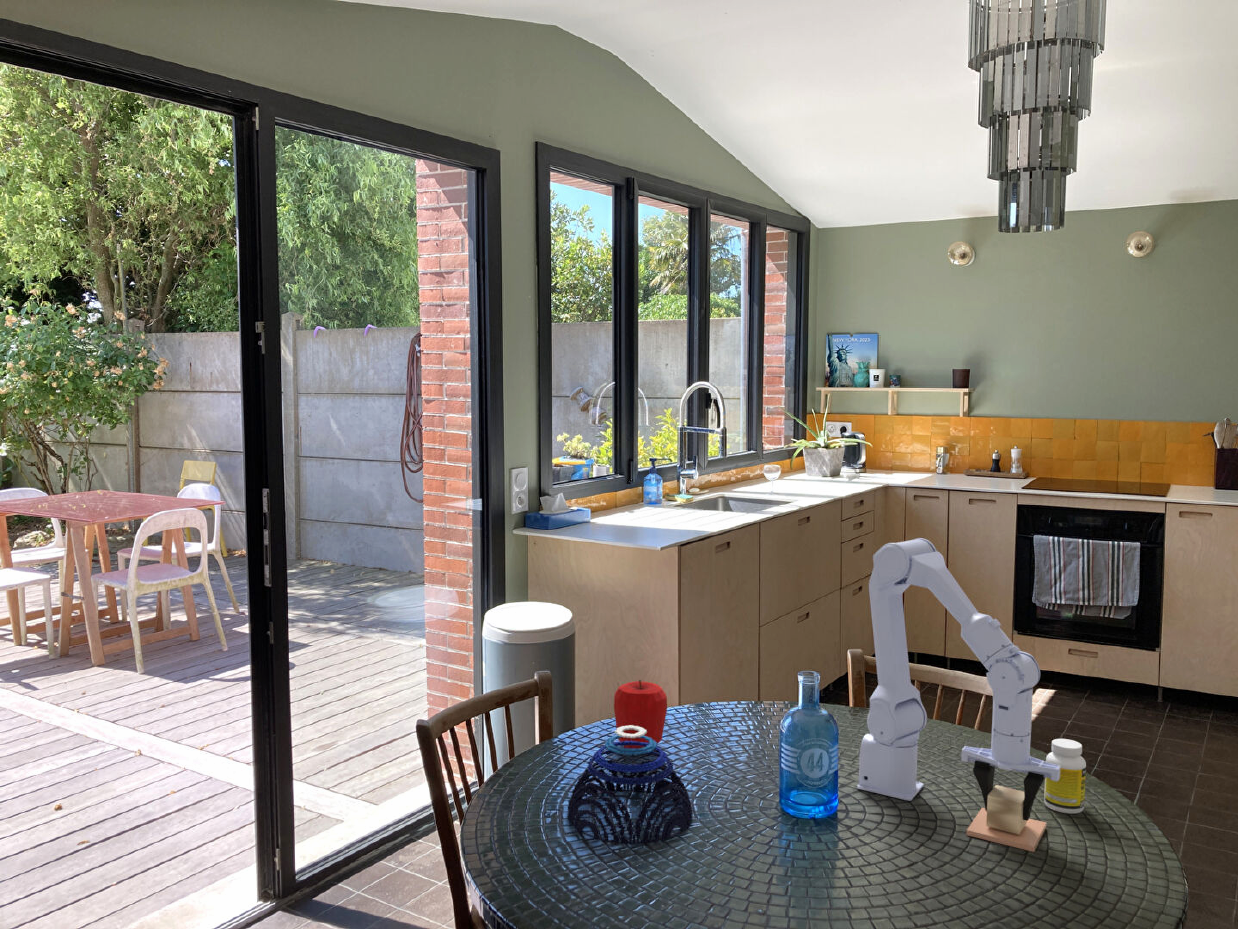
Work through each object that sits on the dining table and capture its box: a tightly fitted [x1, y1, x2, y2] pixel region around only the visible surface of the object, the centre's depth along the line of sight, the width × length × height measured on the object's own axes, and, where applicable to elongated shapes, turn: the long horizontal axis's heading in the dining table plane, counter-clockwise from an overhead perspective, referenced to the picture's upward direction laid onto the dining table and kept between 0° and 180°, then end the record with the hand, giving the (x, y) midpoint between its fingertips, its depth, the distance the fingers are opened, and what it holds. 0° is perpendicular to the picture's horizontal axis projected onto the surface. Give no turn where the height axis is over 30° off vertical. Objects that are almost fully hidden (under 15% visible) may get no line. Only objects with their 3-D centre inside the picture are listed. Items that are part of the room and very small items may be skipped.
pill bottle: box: [1043, 738, 1087, 815], centre depth 167 cm, size 6×6×11 cm
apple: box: [613, 679, 668, 748], centre depth 191 cm, size 11×10×14 cm
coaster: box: [966, 807, 1047, 853], centre depth 158 cm, size 10×10×1 cm
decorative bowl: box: [567, 725, 693, 845], centre depth 162 cm, size 20×20×14 cm
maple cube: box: [986, 784, 1027, 835], centre depth 157 cm, size 5×5×5 cm
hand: (1007, 813), depth 158 cm, fingers closed on maple cube, 5 cm apart
